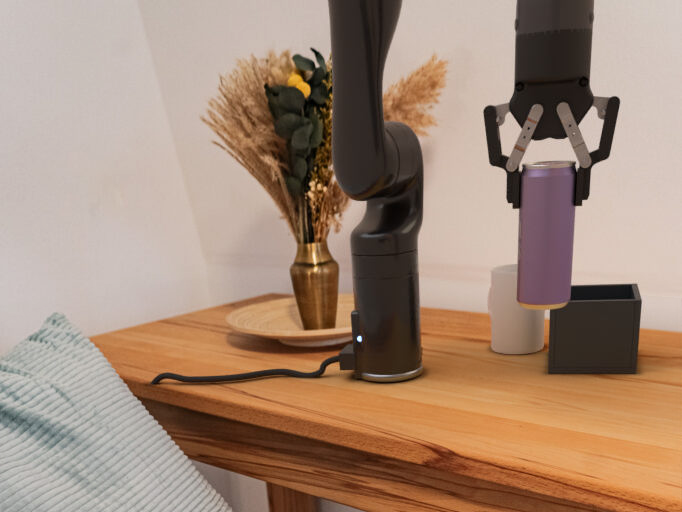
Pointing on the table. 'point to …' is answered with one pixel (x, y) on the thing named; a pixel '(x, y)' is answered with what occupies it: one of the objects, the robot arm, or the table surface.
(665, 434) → the table surface
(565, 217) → the beverage can
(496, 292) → the mug
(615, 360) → the waste bin
